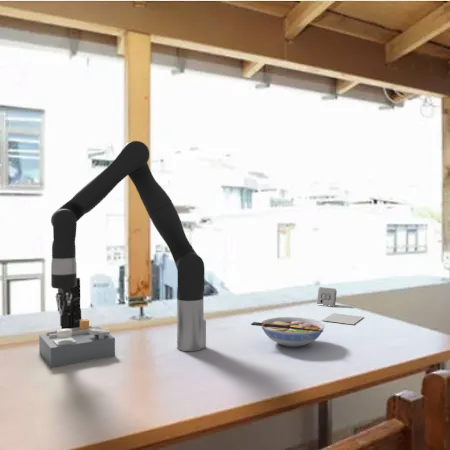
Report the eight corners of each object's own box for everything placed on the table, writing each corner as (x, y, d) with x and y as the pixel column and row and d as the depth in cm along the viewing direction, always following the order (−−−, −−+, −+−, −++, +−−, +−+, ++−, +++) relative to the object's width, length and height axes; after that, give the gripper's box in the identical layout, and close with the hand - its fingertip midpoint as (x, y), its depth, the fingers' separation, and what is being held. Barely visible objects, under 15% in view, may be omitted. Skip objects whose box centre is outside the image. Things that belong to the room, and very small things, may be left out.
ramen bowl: (333, 340, 160) (333, 318, 160) (319, 358, 140) (319, 333, 140) (269, 333, 171) (269, 312, 171) (247, 349, 150) (247, 325, 150)
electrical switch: (316, 305, 225) (317, 287, 226) (320, 304, 229) (321, 286, 230) (333, 307, 219) (334, 288, 220) (337, 306, 224) (338, 288, 224)
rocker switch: (105, 333, 147) (106, 329, 147) (109, 335, 144) (109, 332, 144) (88, 332, 144) (88, 328, 144) (91, 334, 141) (92, 330, 141)
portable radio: (72, 342, 159) (71, 274, 159) (57, 341, 160) (56, 273, 160) (83, 336, 167) (82, 271, 166) (69, 335, 168) (68, 271, 168)
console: (98, 342, 158) (98, 320, 158) (115, 355, 143) (114, 331, 143) (39, 352, 147) (39, 328, 147) (50, 367, 132) (50, 341, 132)
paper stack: (385, 320, 192) (385, 319, 192) (371, 333, 171) (371, 332, 171) (334, 314, 204) (334, 313, 204) (314, 325, 183) (314, 324, 183)
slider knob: (86, 328, 153) (86, 318, 153) (89, 330, 151) (89, 320, 151) (79, 329, 152) (79, 319, 152) (82, 331, 150) (82, 321, 149)
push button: (70, 334, 141) (69, 327, 141) (73, 337, 137) (73, 330, 137) (55, 336, 139) (55, 329, 139) (58, 339, 135) (58, 332, 135)
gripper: (81, 273, 134) (82, 329, 135) (70, 269, 145) (71, 320, 146) (56, 275, 130) (56, 332, 130) (47, 270, 141) (47, 323, 142)
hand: (64, 326), depth 138 cm, fingers closed
